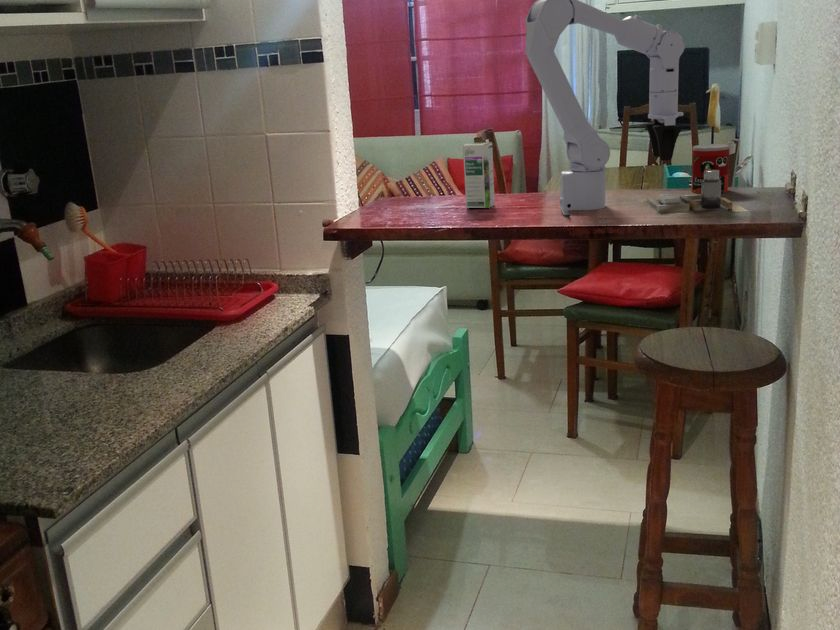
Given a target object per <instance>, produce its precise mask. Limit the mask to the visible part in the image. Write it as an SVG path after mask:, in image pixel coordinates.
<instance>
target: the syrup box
mask: <svg viewBox="0 0 840 630" xmlns="http://www.w3.org/2000/svg"><path fill="white" fill-rule="evenodd" d="M462 153H463V156H462V157H463V172H464V191H465V209H466V208H489V209H491V208H492V207H494V205H495V184H494V183H495V182H494V181H495V180H494V158H493V157H494V155H493V154H494V152H493V142H490V141H489V142H466V143H465V144H464V145H462ZM490 207H491V208H490Z"/></svg>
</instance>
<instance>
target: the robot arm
mask: <svg viewBox="0 0 840 630" xmlns="http://www.w3.org/2000/svg"><path fill="white" fill-rule="evenodd" d="M642 19H643V16H641V15H639V14H635V15H633V16H632V15H629V16H626V17H625V18H623V19H621V18H619V17H617V16H614V15H612V14H610V13H608V12H605V11H603V10H602V9H598V8H596V7H594V6H592V5H590V4H587V3H586V2H583V1H581V0H536V1H535V2H534V3H533V4H532V5H531V7H530V9H529V10H528V13H527V16H526V18H525V20H524V21H525V22H524V23H525V26H526V31H525V32H526V34H525V35H526V36H525V55H526V57H527V61H529V64H530V66H531V68H532V69H533V72H534V74H535V75H536V78H537V80H538V82H539V84H540V85H541V87H542V90H543V93H544V94H545V96H546V98H547V100H548V101H549V104H550V106H551V108H552V110H553V112H554V114H555V116H556V118H557V120H558V122H559V124H560V125H561V128H562V131H563V140H564V142H565V143H564V144H565V145H566V146H565V147H566V156H567V158H568V160H569V162H570V163H571V165H570V168H569V170H563V171H561V172H560V181H559V182H560V198H559V206H560V211H561V212H562V215H563V216H571V214H570V211H593V210H600V209H604V208H606V207H607V206H606V201H607V200H606V187H607V186H606V185H607V184H606V182H607V181H606V180H607V179H606V178H607V177H606V171H607V170H606V165H607V164H608V162H609V159H610V157H611V148H610V146H609V144H608V142H607V141H605V140H604V139H603V138H601V136H599V134H598V131H597V130H596V129H595V128H594V126H592V124H591V123H590V122H589V121H588V119H587V117H586V115H585V113H584V112H583V111H584V110H583V109H582V107H581V105H580V102H579V101H578V98H577V96H576V94H575V93H574V90H573V88H572V86H571V84H570V82H569V80H568V78H567V76H566V74H565V72H564V70H563V68H562V66H561V62H560V61H559V59H558V57H557V55H556V53H555V49H556V46H557V44H558V41H559V40H560V39H559V38H560V35H562V33H563V32H564V31H565V30H566V28H567V27H568V26H570V25H577V24H579V25H582V26H586V27H588V28H591V29H594V30H597V31H600V32H603V33H607V34H609V35H613V36H614V38H615V40H616V42H617V44H618V45H620V46H623V47H625V48H628V49H630V50H633V51H636V52H638V53H641V54H643V55H645V56H646V57H647V58H648V59H649V94H648V98H649V99H648V100H649V101H648V102H649V103H648V105H649V106H648V107H649V108H648V114H647V119H651V122H650V123H644V127H645V128H646V131H647V133H648V136H649V140H650V145H651V150H652V155H653V157H659V159H660V161H663V162H664V161H672V159H673V156H674V151H675V147H676V142H677V140H678V137H679V135H680V133H681V131H682V130H683V126H682V125H676V119H677V118H678V117H683V116H684V112H682V111H679V109H678V108H679V107H678V105H679V104H678V103H679V71H680V69H679V67H680V66H679V64H680V57H681V56H682V54H683V53H684V51H685V47H686V43H684V40H683V38H682V36H681V35H680V33H679V32H677V31H675V30H672V29H671V30H669V29H668V30H664V28H663V25H661V24H659V23H657V24H656V25H655V24H652V23H650V22H647V21H645V20H642Z"/></svg>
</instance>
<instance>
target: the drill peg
mask: <svg viewBox="0 0 840 630" xmlns="http://www.w3.org/2000/svg"><path fill="white" fill-rule="evenodd" d="M721 195H722V193H721V181H720V180H719V170H706V171H704V181H702V188H701V207H702V208H708V209H712V208H719V207H720V203H721V198H722V196H721Z"/></svg>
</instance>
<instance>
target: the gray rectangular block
mask: <svg viewBox="0 0 840 630" xmlns="http://www.w3.org/2000/svg"><path fill="white" fill-rule="evenodd" d="M658 201H659V202H658V203H659V204H660V205H671V204H680V198H679V196H678V195H677V194H675V193H660V194H659V193H658Z"/></svg>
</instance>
